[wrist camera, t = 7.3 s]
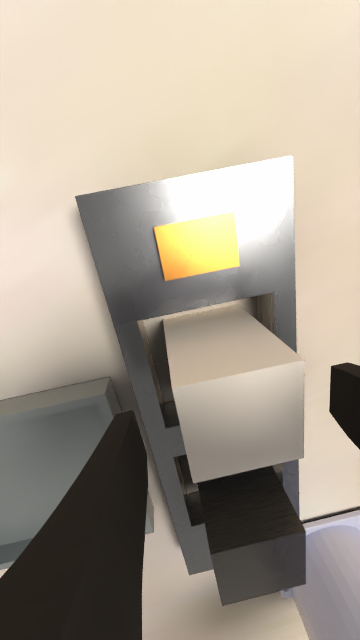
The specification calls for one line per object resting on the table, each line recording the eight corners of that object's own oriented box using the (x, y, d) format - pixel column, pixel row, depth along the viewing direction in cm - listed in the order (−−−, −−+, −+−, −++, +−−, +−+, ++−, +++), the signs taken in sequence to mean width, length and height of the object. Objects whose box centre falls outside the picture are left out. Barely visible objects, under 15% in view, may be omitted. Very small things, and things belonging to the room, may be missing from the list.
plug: (243, 369, 14) (303, 457, 9) (176, 383, 14) (193, 483, 8) (237, 304, 13) (304, 359, 7) (162, 319, 13) (172, 388, 7)
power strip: (285, 516, 19) (340, 634, 14) (185, 541, 19) (199, 672, 13) (268, 168, 11) (394, 99, 5) (88, 202, 11) (16, 168, 5)
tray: (153, 507, 17) (153, 532, 16) (-4, 545, 17) (-18, 574, 15) (109, 376, 13) (104, 393, 12) (-96, 421, 13) (-126, 444, 12)
